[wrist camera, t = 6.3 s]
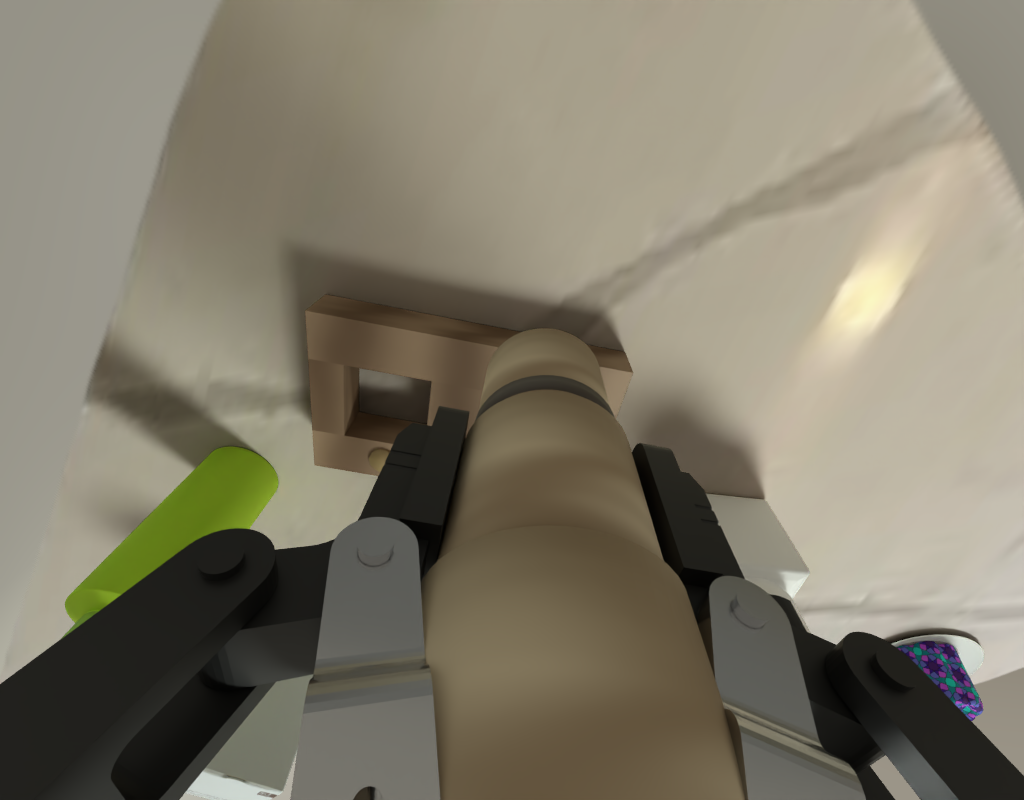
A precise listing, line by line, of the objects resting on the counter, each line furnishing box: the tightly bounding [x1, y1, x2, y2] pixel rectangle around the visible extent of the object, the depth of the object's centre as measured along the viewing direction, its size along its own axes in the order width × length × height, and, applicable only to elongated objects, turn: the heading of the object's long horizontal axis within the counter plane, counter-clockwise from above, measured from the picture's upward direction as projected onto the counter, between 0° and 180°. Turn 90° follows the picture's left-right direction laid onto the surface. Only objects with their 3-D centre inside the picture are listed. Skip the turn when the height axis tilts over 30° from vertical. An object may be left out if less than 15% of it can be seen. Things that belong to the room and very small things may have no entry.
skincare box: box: [185, 674, 313, 800], centre depth 42 cm, size 8×6×15 cm
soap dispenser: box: [61, 447, 278, 639], centre depth 29 cm, size 6×7×20 cm
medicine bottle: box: [706, 494, 810, 633], centre depth 33 cm, size 7×7×12 cm
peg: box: [421, 328, 745, 800], centre depth 9 cm, size 4×4×12 cm
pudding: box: [892, 635, 984, 721], centre depth 45 cm, size 12×12×5 cm
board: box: [305, 294, 633, 476], centre depth 31 cm, size 20×12×3 cm, turn 79°
